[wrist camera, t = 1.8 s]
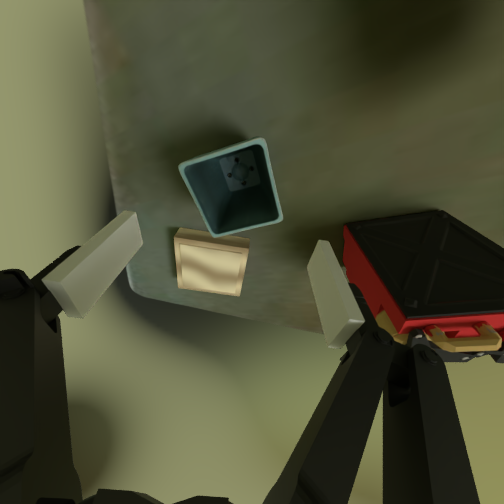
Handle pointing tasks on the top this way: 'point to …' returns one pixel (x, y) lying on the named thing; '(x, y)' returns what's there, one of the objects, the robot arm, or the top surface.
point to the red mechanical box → (430, 283)
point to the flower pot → (233, 187)
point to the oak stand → (210, 261)
